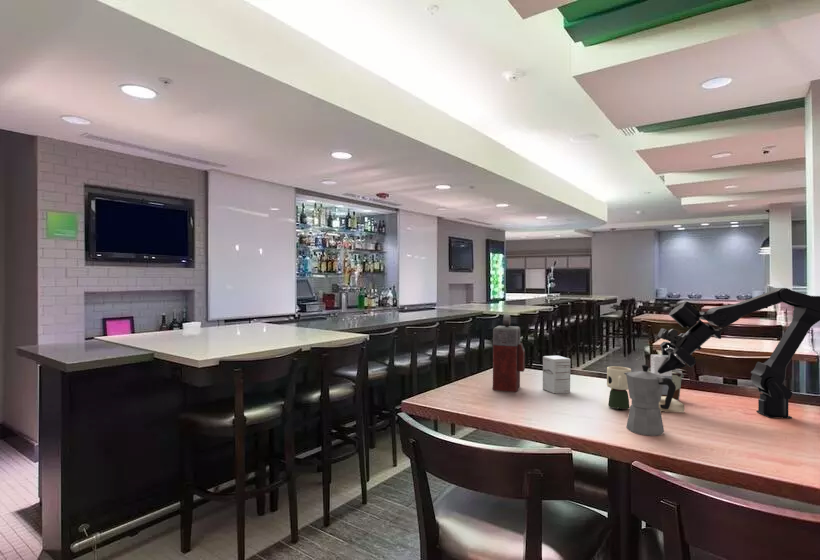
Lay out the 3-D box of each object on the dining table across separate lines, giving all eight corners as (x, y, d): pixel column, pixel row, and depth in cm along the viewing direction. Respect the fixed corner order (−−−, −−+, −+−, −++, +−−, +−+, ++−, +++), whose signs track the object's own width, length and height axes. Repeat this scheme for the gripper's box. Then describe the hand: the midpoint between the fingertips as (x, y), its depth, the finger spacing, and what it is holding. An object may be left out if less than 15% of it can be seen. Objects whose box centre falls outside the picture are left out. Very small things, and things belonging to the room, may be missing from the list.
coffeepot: (612, 425, 129) (613, 361, 129) (636, 421, 133) (637, 359, 133) (662, 443, 115) (662, 371, 115) (687, 438, 119) (687, 369, 119)
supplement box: (541, 389, 173) (542, 355, 173) (558, 388, 175) (558, 355, 175) (553, 393, 166) (553, 359, 166) (570, 392, 168) (571, 358, 168)
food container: (675, 396, 164) (675, 368, 164) (683, 400, 158) (683, 371, 158) (639, 394, 166) (639, 367, 166) (646, 399, 159) (646, 370, 160)
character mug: (606, 403, 153) (606, 364, 154) (629, 405, 151) (629, 366, 151) (607, 411, 143) (607, 370, 143) (632, 414, 141) (633, 372, 141)
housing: (667, 391, 150) (667, 355, 150) (671, 395, 146) (671, 357, 146) (650, 390, 152) (650, 354, 152) (654, 394, 147) (654, 356, 147)
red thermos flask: (523, 392, 167) (523, 316, 167) (492, 390, 171) (493, 315, 171) (526, 387, 175) (526, 314, 176) (496, 385, 179) (497, 313, 180)
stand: (669, 404, 153) (669, 396, 153) (684, 412, 143) (684, 404, 143) (638, 403, 154) (638, 395, 154) (650, 411, 144) (650, 403, 144)
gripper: (666, 317, 157) (631, 349, 160) (683, 322, 139) (643, 357, 141) (692, 341, 155) (656, 372, 157) (713, 349, 137) (672, 384, 139)
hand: (656, 371), depth 149 cm, fingers closed on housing, 5 cm apart
